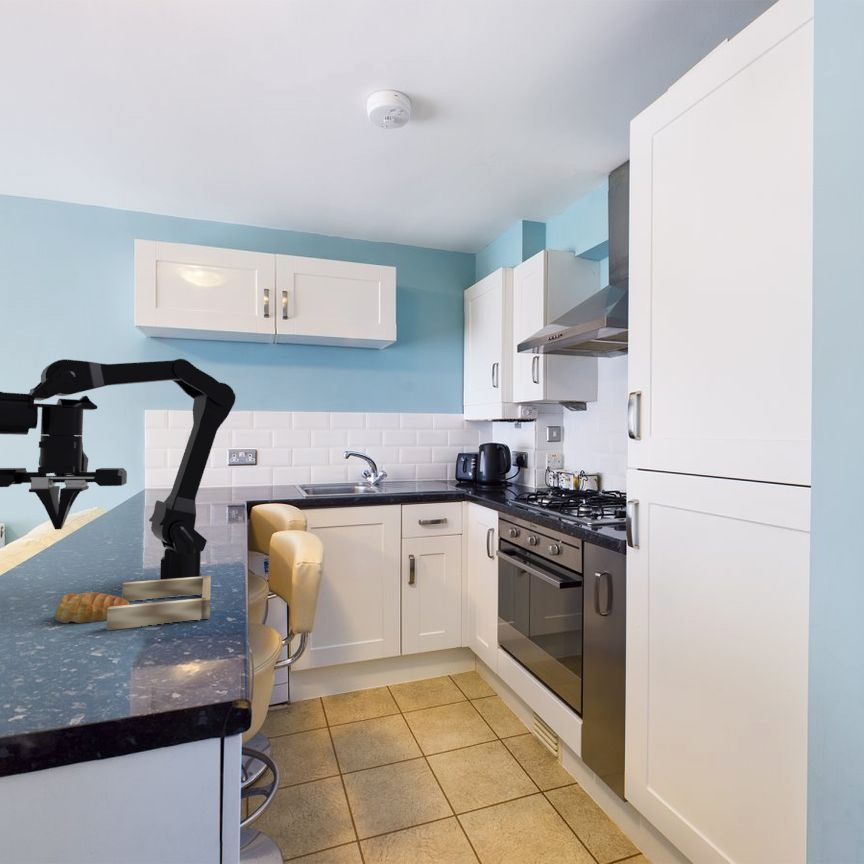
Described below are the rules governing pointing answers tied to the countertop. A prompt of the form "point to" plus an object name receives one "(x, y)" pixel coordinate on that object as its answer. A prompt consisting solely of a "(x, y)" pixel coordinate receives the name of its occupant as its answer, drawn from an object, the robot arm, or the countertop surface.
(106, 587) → the countertop surface
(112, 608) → the beige piece
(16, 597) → the countertop surface
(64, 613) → the pastry
